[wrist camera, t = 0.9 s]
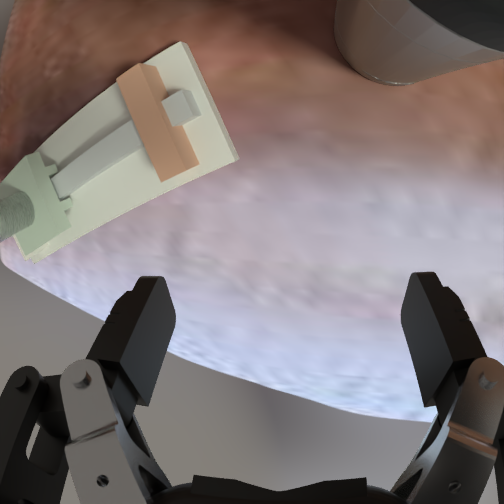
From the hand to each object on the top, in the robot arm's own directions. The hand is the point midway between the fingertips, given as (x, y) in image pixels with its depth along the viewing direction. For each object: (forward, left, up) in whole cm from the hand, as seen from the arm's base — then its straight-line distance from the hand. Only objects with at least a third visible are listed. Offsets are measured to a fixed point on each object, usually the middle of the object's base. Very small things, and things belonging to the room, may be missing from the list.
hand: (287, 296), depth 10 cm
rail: (+2, -23, -19) cm, 30 cm away
